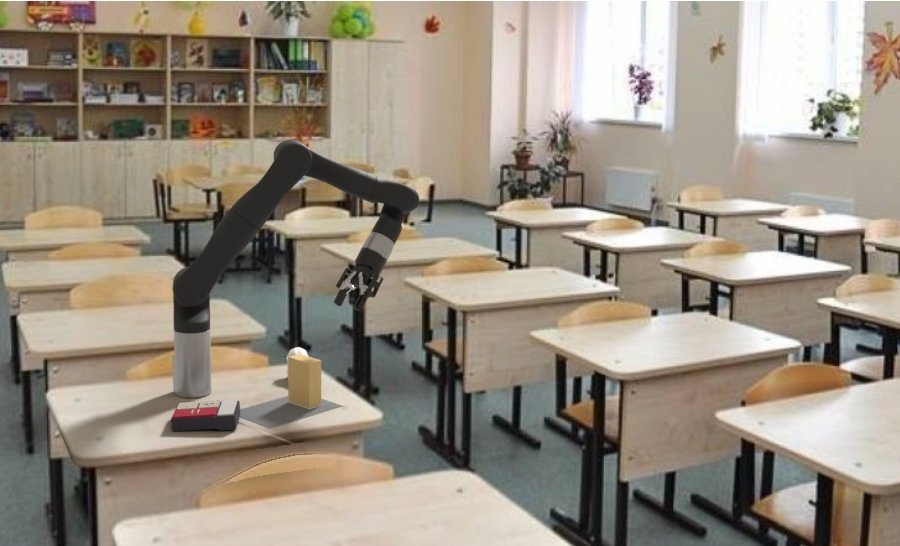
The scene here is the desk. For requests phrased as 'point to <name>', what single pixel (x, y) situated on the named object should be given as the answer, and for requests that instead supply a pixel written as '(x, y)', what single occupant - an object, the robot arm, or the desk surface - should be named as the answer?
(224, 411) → the red and grey box
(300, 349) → the white figurine
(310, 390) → the ochre block
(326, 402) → the charcoal mat
